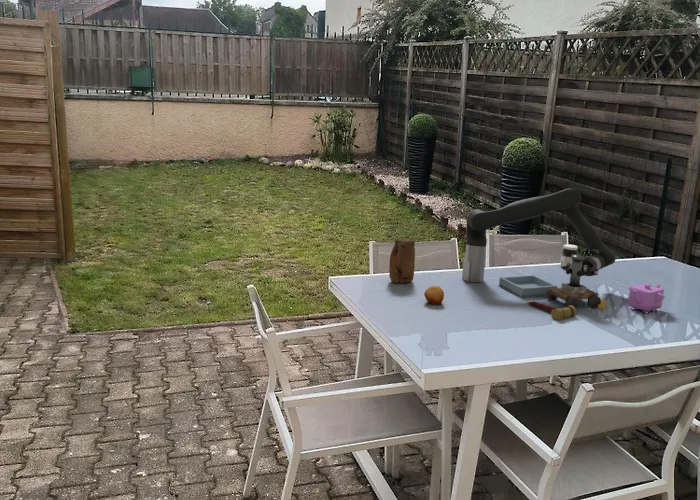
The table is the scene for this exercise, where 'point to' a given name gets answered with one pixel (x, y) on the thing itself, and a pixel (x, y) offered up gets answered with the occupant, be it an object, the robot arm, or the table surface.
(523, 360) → the table surface
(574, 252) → the spread jar
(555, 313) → the gavel
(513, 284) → the tray
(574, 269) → the pin
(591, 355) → the table surface
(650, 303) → the teapot
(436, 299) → the fruit
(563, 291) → the wheeled pole base
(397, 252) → the block
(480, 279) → the robot arm
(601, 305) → the wheel chock
